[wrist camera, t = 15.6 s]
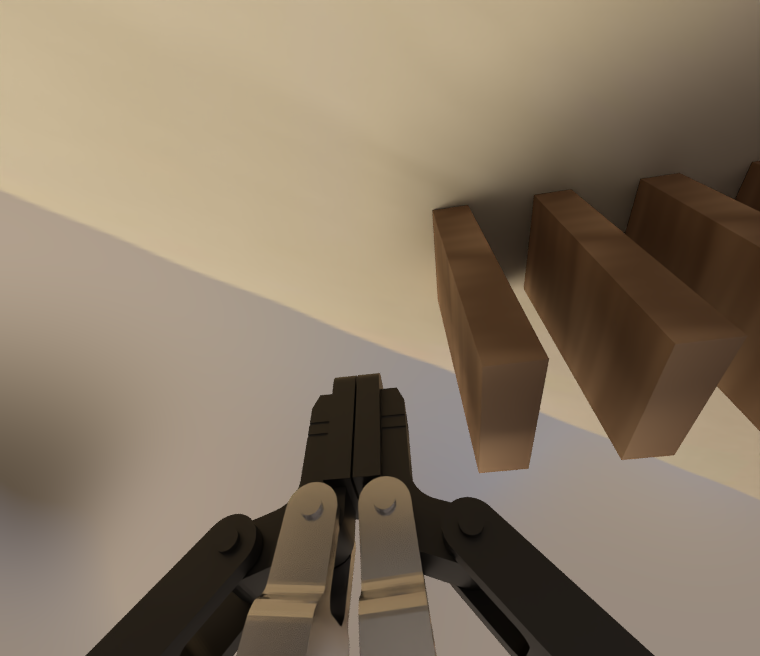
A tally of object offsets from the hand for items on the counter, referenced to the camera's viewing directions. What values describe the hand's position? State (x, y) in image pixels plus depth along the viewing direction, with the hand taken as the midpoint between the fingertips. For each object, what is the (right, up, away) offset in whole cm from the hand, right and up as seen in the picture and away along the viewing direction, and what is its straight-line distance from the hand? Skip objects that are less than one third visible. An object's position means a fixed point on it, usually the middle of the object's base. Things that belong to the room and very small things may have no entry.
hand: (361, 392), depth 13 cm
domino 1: (+4, +6, +6) cm, 9 cm away
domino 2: (+9, +6, +5) cm, 12 cm away
